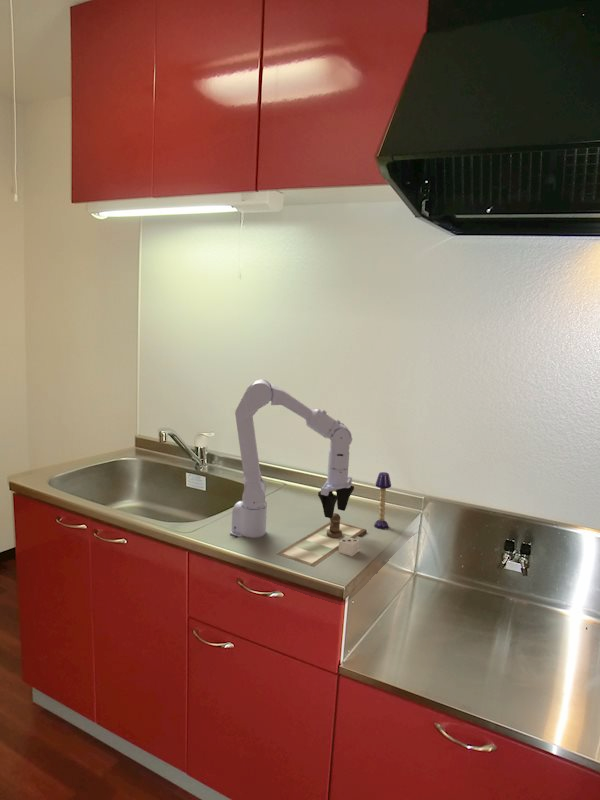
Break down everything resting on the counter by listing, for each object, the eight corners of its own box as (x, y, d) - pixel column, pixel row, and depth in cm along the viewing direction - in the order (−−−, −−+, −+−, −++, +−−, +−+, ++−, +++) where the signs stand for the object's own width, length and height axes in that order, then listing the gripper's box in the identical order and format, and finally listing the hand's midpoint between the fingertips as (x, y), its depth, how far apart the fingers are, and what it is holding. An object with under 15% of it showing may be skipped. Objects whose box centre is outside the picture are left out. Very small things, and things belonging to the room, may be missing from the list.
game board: (276, 556, 135) (276, 553, 135) (332, 522, 160) (332, 520, 160) (313, 569, 129) (313, 566, 129) (366, 532, 154) (366, 529, 154)
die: (338, 555, 138) (339, 540, 137) (345, 550, 141) (346, 536, 141) (351, 559, 136) (352, 544, 135) (358, 554, 139) (359, 539, 139)
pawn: (323, 535, 148) (324, 513, 147) (331, 530, 152) (332, 509, 151) (337, 539, 146) (338, 517, 145) (344, 534, 150) (345, 513, 149)
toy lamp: (370, 526, 158) (374, 473, 156) (375, 521, 162) (379, 470, 160) (385, 530, 156) (389, 476, 154) (390, 525, 160) (394, 472, 158)
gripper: (338, 475, 138) (334, 524, 140) (362, 464, 150) (359, 509, 152) (315, 470, 142) (312, 518, 144) (340, 460, 154) (337, 504, 156)
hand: (335, 513), depth 148 cm, fingers open, 7 cm apart
